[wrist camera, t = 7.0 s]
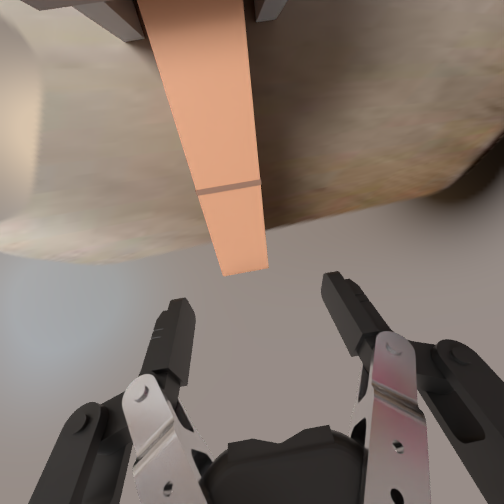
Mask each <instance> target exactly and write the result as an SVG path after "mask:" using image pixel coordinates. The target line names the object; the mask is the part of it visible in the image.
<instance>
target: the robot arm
mask: <svg viewBox="0 0 504 504" xmlns="http://www.w3.org/2000/svg"><path fill="white" fill-rule="evenodd" d="M321 295H322V298H323V301H324V303H325V305H326V307H327V309H328V311H329V313H330V315H331V317H332V319H333V321H334V323H335V325H336V327H337V329H338V331H339V333H340V335H341V337H342V339H343V341H344V343H345V345H346V346H347V349H348V351H349V353H350V355H351V356H352V357H353V356H359V357H360V359H361V361H362V363H361V369H360V376H359V383H358V389H357V396H356V402H355V406H354V409H353V412H352V417H351V422H350V428H349V435H348V436H346V435H344V434H342V433H340V432H337V431H334V430H331V429H330V426H329V425H326V426H320V427H315V428H309V429H305V430H302V431H301V432H299V433H298V434H296V435H294V436H293V437H291V438H289V439H288V440H286V441H284V442H283V443H278V444H277V443H273V442H267V441H262V440H257V439H249V440H243V441H238V442H233V443H228V449H227V450H225V451H224V452H223V453H222V454H220V455H219V456H218V457H217V458H216V459H214V457H213V455H212V453H211V452H210V450H209V448H208V446H207V444H206V443H205V441H204V440H203V438H202V437H201V436H200V435H199V433H198V432H197V430H196V428H195V426H194V424H193V422H192V421H191V419H190V417H189V415H188V413H187V411H186V409H185V407H184V405H183V403H182V401H181V400H180V398H179V396H178V395H179V388H180V387H181V386H187V384H188V376H189V368H190V361H191V353H192V346H193V338H194V330H195V322H196V320H195V314H194V311H193V309H192V308H191V306H190V304H189V302H188V300H187V299H186V298H179V299H174V300H171V301H170V304H169V307H168V310H167V311H163V312H162V313H161V315H160V316H159V318H158V319H157V321H156V324H155V327H154V332H153V334H152V337H151V340H150V343H149V346H148V350H147V353H146V356H145V359H144V363H143V366H142V369H141V372H140V374H139V376H138V377H137V378H136V379H135V380H134V381H133V382H132V383H131V384H130V385H129V386H128V388H127V389H126V391H125V392H123V393H121V394H119V395H117V396H116V397H114V398H112V399H110V400H108V401H106V402H104V403H102V404H101V405H100V404H98V403H95V402H89V403H86V404H85V405H83V406H81V407H80V408H78V409H77V410H76V411H75V412H74V413H73V414H72V415H71V416H70V417H69V419H68V420H67V422H66V423H65V425H64V427H63V429H62V431H61V433H60V435H59V437H58V439H57V442H56V444H55V446H54V448H53V450H52V453H51V455H50V457H49V459H48V461H47V464H46V466H45V468H44V470H43V472H42V475H41V477H40V479H39V482H38V484H37V486H36V488H35V490H34V492H33V494H32V497H31V499H30V501H29V503H28V504H119V502H120V498H121V493H122V489H123V485H124V480H125V476H126V471H127V466H128V463H129V458H130V453H131V450H132V445H134V448H135V451H136V456H137V458H136V462H135V463H134V466H133V475H134V480H135V484H136V487H137V491H138V495H139V499H140V502H141V504H431V491H430V475H429V459H428V443H427V427H426V419H425V416H424V414H423V412H422V411H421V410H420V409H419V407H418V403H417V390H418V391H419V393H420V394H421V396H422V397H423V399H424V401H425V402H426V404H427V406H428V407H429V409H430V410H431V412H432V414H433V415H434V417H435V418H436V420H437V422H438V423H439V425H440V427H441V428H442V430H443V432H444V433H445V435H446V436H447V438H448V440H449V441H450V443H451V444H452V446H453V448H454V449H455V451H456V453H457V454H458V456H459V457H460V459H461V460H462V462H463V464H464V466H465V467H466V469H467V470H468V472H469V474H470V475H471V477H472V478H473V480H474V482H475V483H476V485H477V487H478V488H479V490H480V491H481V493H482V495H483V496H484V498H485V500H486V501H487V503H488V504H504V382H503V381H502V380H501V379H500V378H499V377H498V376H497V375H496V373H495V372H494V371H493V370H492V369H491V368H490V367H489V366H488V365H487V364H486V363H485V362H484V361H483V360H482V359H481V357H479V356H478V354H477V353H476V352H475V351H473V350H472V349H470V348H469V347H468V346H466V345H464V344H462V343H460V342H458V341H454V340H447V339H446V340H442V341H440V342H438V343H437V344H436V345H434V344H427V343H420V342H414V341H409V340H407V339H405V338H404V337H403V336H401V335H399V334H397V333H395V332H393V331H392V330H391V329H390V328H389V326H388V325H387V324H386V322H385V321H384V320H383V318H382V317H381V316H380V314H379V313H378V312H377V310H376V309H375V307H374V306H373V305H372V303H371V302H370V301H369V299H368V298H367V296H366V295H364V292H363V291H362V290H361V288H360V287H359V286H358V285H357V284H356V283H355V282H353V281H352V280H350V279H344V278H343V277H342V275H341V274H340V272H338V271H336V272H330V273H325V274H324V275H323V281H322V288H321ZM395 450H397V452H396V451H395ZM171 491H172V493H171Z"/></svg>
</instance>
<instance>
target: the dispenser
mask: <svg viewBox="0 0 504 504" xmlns="http://www.w3.org/2000/svg"><path fill="white" fill-rule="evenodd" d="M21 1H23V2H24V3H26V4H28V5H30V6H32V7H34V8H36V9H38V10H39V11H40V10H48V9H55V8H62V7H69V6H72V7H74V8H75V9H77V10H78V11H80V12H81V13H83V14H84V15H85V16H87V17H88V18H90V19H91V20H93V21H94V22H96V23H97V24H99V25H100V26H102V27H103V28H105V29H106V30H108V31H109V32H110V33H112V34H113V35H115V36H116V37H118V38H119V39H121V40H122V41H124V42H127V41H133V40H140V39H145V38H144V35H143V32H142V28H141V25H140V22H139V19H138V16H137V13H136V10H135V7H134V4H133V0H21ZM287 1H288V0H254V3H255V17H256V22H262V21H269V20H275V19H276V18H277V17H278V15H279V13H280V12H281V10H282V9H283V7H284V5H285V4H286V2H287Z"/></svg>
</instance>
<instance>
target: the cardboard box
mask: <svg viewBox="0 0 504 504" xmlns="http://www.w3.org/2000/svg"><path fill="white" fill-rule="evenodd" d="M137 2H138V5H139V8H140V12H141V15H142V18H143V21H144V24H145V28H146V31H147V34H148V37H149V40H150V44H151V47H152V50H153V53H154V56H155V60H156V63H157V66H158V69H159V72H160V76H161V79H162V82H163V85H164V88H165V92H166V95H167V98H168V101H169V104H170V108H171V111H172V114H173V117H174V120H175V124H176V127H177V130H178V133H179V136H180V140H181V143H182V146H183V149H184V152H185V156H186V159H187V162H188V165H189V168H190V172H191V175H192V178H193V181H194V184H195V188H196V190H195V191H196V194H197V196H198V197H199V200H200V204H201V207H202V210H203V213H204V216H205V220H206V223H207V226H208V229H209V232H210V236H211V239H212V242H213V245H214V248H215V252H216V255H217V258H218V261H219V264H220V268H221V271H222V274H223V276H228V275H233V274H239V273H244V272H249V271H255V270H261V269H266V268H269V267H268V257H267V247H266V236H265V225H264V215H263V204H262V194H261V185H262V184H261V178H260V173H259V163H258V152H257V142H256V132H255V121H254V111H253V100H252V90H251V79H250V69H249V59H248V48H247V38H246V27H245V17H244V6H243V0H137Z"/></svg>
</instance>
